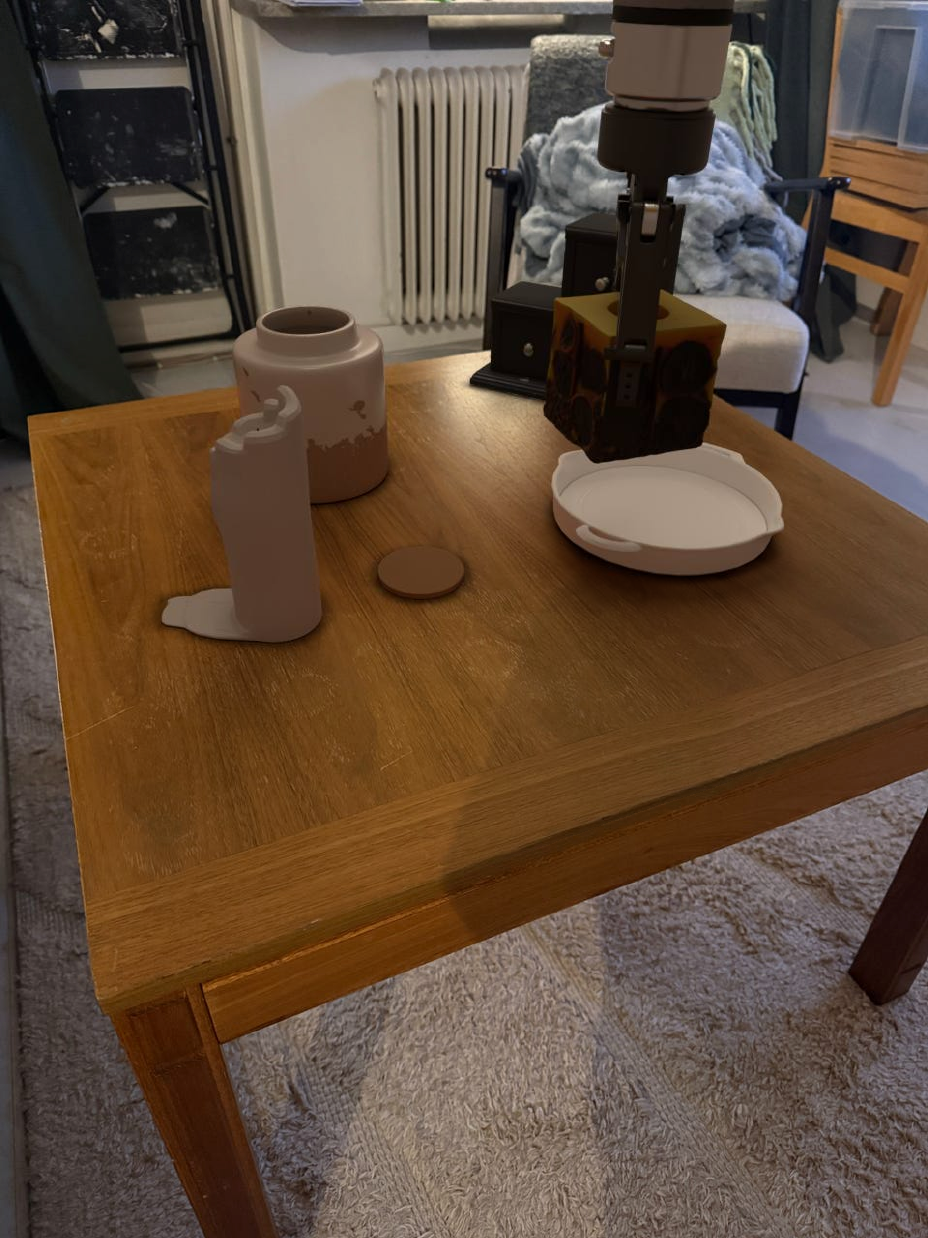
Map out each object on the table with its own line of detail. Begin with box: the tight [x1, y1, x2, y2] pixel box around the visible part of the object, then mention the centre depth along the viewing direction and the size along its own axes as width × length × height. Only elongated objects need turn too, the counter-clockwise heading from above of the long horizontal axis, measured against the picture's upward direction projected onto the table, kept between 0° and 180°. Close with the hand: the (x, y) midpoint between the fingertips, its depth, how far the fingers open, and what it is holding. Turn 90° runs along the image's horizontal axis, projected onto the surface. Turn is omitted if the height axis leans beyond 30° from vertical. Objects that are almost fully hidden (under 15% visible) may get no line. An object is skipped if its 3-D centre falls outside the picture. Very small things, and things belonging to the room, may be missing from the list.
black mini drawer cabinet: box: [468, 203, 687, 402], centre depth 109 cm, size 23×11×24 cm, turn 60°
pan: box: [550, 441, 785, 577], centre depth 87 cm, size 24×27×4 cm
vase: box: [231, 304, 389, 504], centre depth 91 cm, size 15×15×17 cm
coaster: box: [377, 545, 465, 600], centre depth 80 cm, size 8×8×1 cm
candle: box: [542, 290, 728, 464], centre depth 68 cm, size 10×10×10 cm
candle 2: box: [161, 385, 323, 643], centre depth 68 cm, size 7×14×20 cm, turn 86°
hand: (618, 407), depth 70 cm, fingers closed on candle, 13 cm apart
